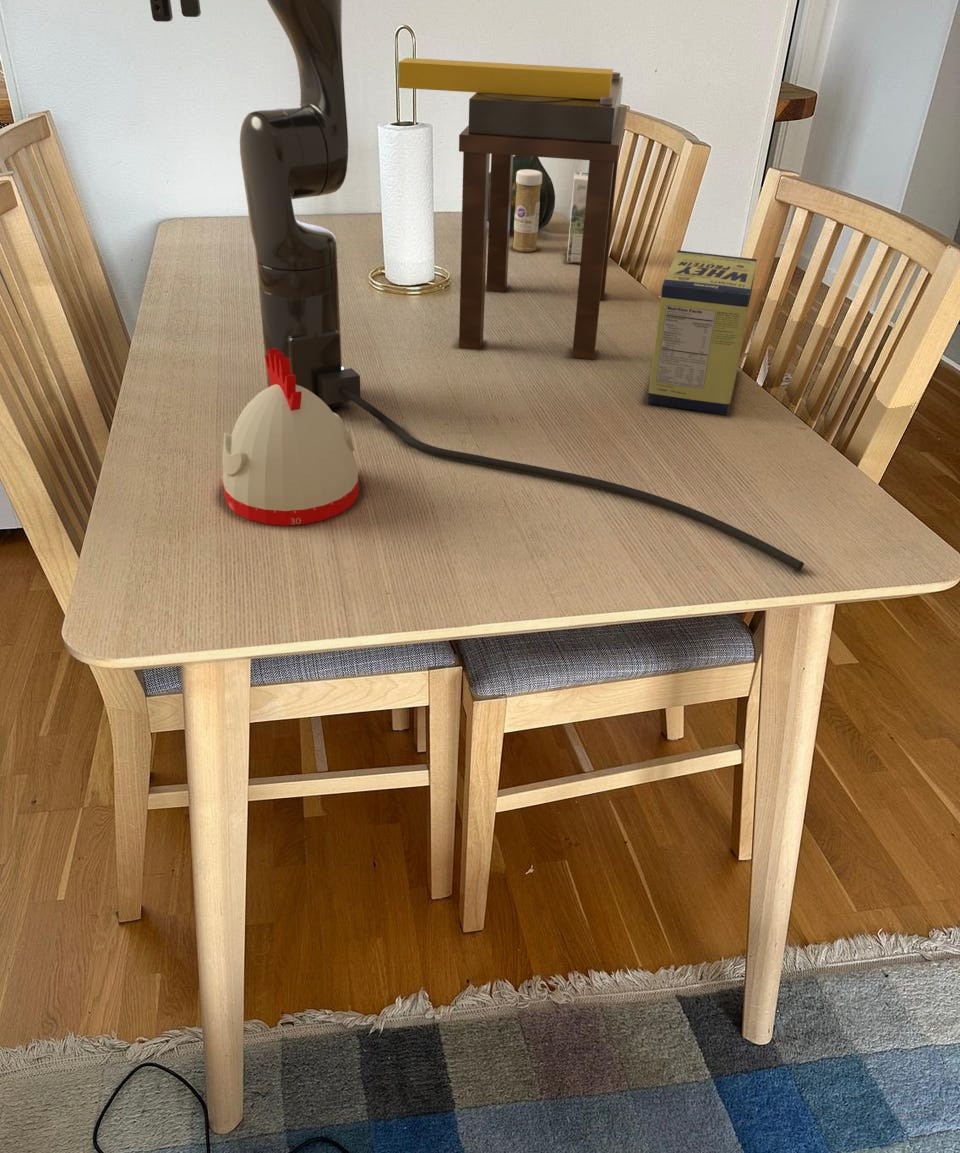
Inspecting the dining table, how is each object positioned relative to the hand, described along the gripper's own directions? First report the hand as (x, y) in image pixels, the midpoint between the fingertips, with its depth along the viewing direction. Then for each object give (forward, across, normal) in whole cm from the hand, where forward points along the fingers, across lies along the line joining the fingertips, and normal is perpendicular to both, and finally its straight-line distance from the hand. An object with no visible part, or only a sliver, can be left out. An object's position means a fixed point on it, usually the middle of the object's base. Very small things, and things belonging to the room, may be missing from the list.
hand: (177, 18), depth 121 cm
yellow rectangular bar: (+8, +11, -38) cm, 41 cm away
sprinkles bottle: (+40, +56, -37) cm, 78 cm away
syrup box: (+40, +51, -48) cm, 81 cm away
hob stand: (+40, +18, -43) cm, 62 cm away
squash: (+40, +68, -33) cm, 86 cm away
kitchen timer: (+41, -41, -23) cm, 63 cm away
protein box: (+42, -3, -66) cm, 78 cm away
